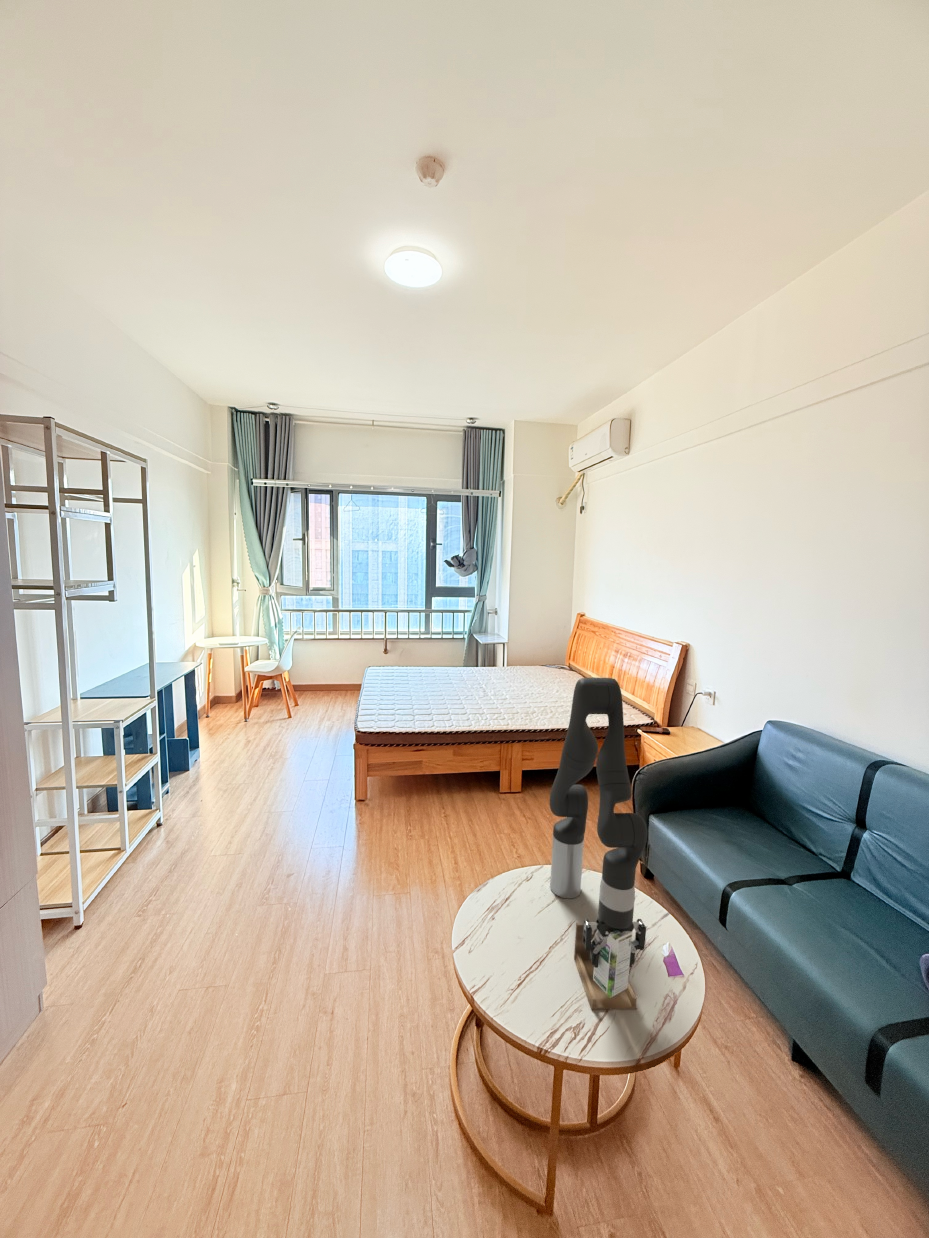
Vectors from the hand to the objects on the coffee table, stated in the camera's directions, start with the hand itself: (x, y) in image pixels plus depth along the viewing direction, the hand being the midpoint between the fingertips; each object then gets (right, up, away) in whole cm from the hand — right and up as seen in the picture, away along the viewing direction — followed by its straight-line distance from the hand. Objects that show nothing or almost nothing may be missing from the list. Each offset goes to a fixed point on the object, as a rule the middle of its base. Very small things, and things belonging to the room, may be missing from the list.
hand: (611, 964), depth 112 cm
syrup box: (0, -5, +1) cm, 5 cm away
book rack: (-1, -8, +5) cm, 9 cm away
